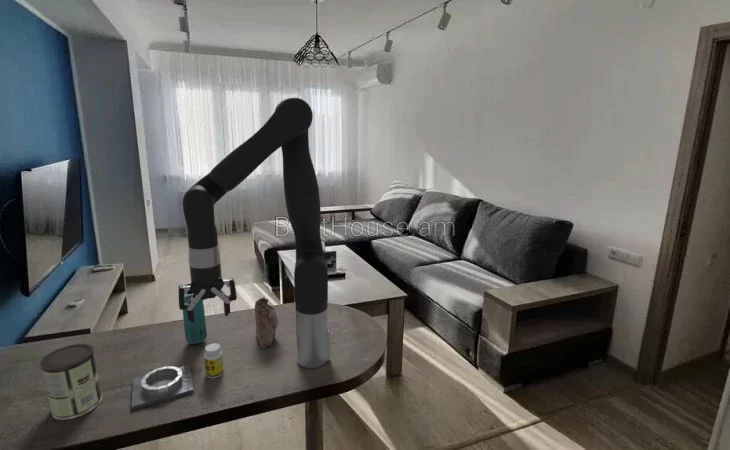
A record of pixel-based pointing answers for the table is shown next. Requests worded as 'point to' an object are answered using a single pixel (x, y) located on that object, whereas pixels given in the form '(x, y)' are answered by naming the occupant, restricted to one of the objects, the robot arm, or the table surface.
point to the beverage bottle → (198, 328)
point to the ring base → (161, 385)
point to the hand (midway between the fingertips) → (209, 318)
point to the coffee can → (71, 381)
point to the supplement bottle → (213, 361)
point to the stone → (265, 322)
